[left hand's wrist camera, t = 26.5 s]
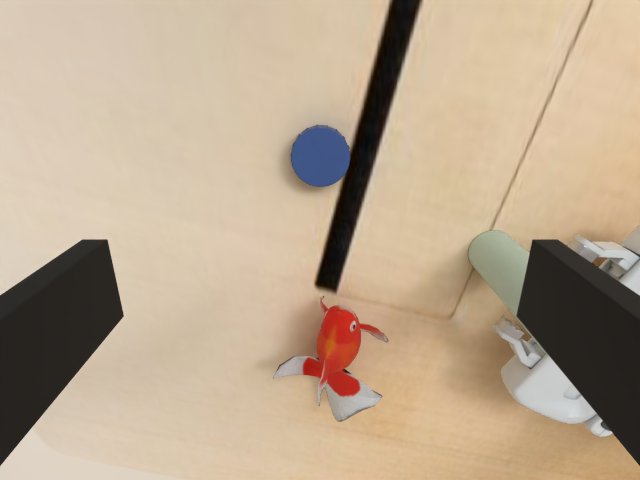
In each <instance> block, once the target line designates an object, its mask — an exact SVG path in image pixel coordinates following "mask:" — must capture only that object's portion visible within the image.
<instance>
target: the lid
mask: <svg viewBox="0 0 640 480" xmlns="http://www.w3.org/2000/svg"><path fill="white" fill-rule="evenodd" d="M349 149H350V148H349V146H348V145H347V143H346V141H345V138H344V136H342V135H341V134H340V133H339V132H338V131H337V129H336V130H335V129H333V128H331V127H328V125H326V126H323V125H316V126H313V127H310V128H307V129H306V130H305V131H303V132H302V133H301V134H299V135H298V138H297V139H296V141H295V143H294V144H293V149H292V153H291V161H292V166H293V168H294V170H295V172H296V174H297V175H298V176H299V178H300V179H302V180H303V181H304V182H306V183H307V184H310V185H313V186H318V187H324V186H329V185H332V184H334V183H336V182H337V181H339V180H340V179H341V178H342V177H343V176H344V174H345V173H346V171H347V169H348V166H349V162H350V152H349Z"/></svg>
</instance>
